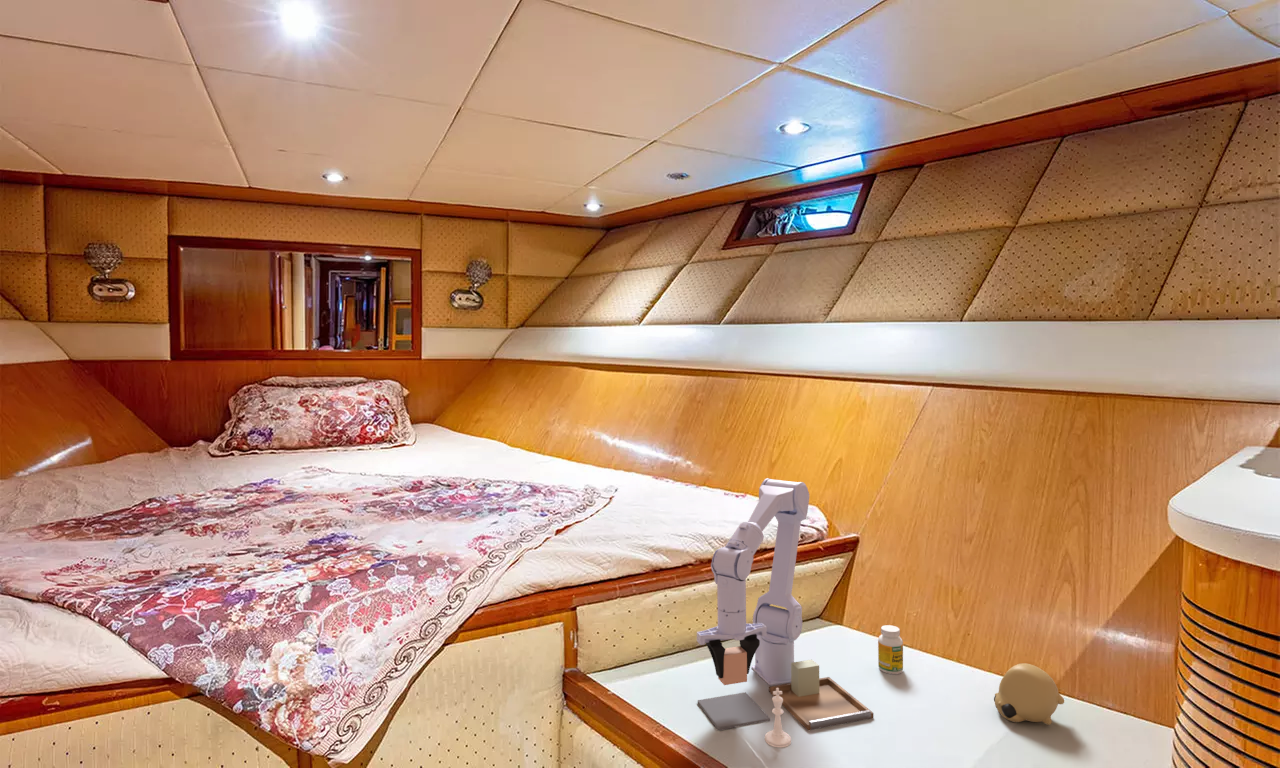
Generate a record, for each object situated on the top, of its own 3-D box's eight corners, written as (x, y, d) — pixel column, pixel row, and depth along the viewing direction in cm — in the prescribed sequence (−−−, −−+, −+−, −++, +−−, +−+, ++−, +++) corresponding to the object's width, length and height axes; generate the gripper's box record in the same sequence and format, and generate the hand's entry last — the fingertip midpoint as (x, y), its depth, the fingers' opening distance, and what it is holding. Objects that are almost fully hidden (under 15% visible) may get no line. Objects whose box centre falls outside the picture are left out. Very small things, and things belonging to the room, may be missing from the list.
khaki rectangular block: (791, 690, 144) (791, 662, 144) (811, 686, 146) (811, 659, 146) (798, 696, 142) (798, 668, 141) (819, 693, 143) (819, 665, 143)
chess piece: (761, 734, 128) (761, 682, 128) (786, 732, 128) (786, 681, 128) (768, 749, 123) (768, 695, 123) (795, 747, 123) (794, 694, 123)
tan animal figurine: (1018, 723, 137) (975, 684, 139) (1062, 684, 135) (1018, 645, 137) (1033, 749, 127) (987, 706, 130) (1080, 707, 125) (1033, 664, 127)
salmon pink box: (718, 678, 137) (717, 649, 136) (740, 675, 138) (740, 646, 138) (724, 685, 134) (723, 655, 134) (747, 681, 135) (746, 652, 135)
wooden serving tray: (769, 692, 144) (768, 685, 144) (828, 682, 148) (828, 675, 148) (807, 731, 129) (807, 723, 129) (873, 718, 133) (873, 710, 133)
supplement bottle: (887, 662, 158) (887, 621, 157) (908, 670, 153) (908, 629, 153) (873, 668, 155) (873, 627, 154) (893, 677, 150) (893, 634, 150)
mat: (697, 703, 140) (697, 700, 140) (745, 694, 143) (745, 692, 143) (718, 730, 129) (718, 727, 129) (769, 721, 133) (769, 718, 132)
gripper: (705, 619, 130) (706, 688, 130) (773, 610, 134) (774, 677, 134) (692, 606, 136) (693, 672, 137) (757, 598, 141) (758, 662, 141)
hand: (732, 674), depth 136 cm, fingers closed on salmon pink box, 5 cm apart
